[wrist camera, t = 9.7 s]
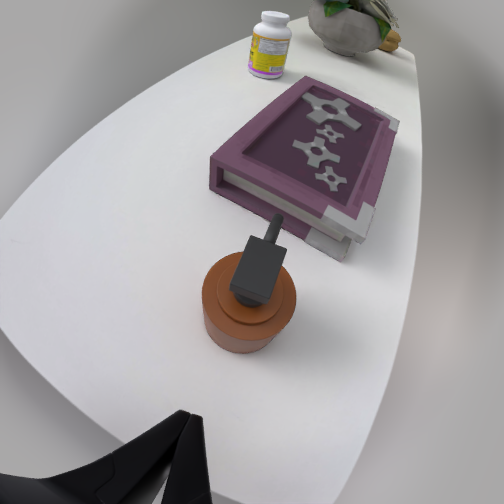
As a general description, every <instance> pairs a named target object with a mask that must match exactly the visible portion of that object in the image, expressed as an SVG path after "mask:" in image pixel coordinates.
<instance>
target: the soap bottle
mask: <svg viewBox="0 0 504 504" xmlns="http://www.w3.org/2000/svg"><path fill="white" fill-rule="evenodd" d="M242 254H243V252H238V253H234V254H231V255H228V256H226V257H224V258H222V259H221V260H219V261H218V262H217V263H216V264H215V265H214V266H213V267H212V268H211V269H210V270H209V272H208V273H207V275H206V277H205V280H204V283H203V287H202V303H203V312H204V321H205V326H206V329H207V331H208V333H209V335H210V337H211V338H212V340H213V341H214V342H215V343H216V344H218V345H219V346H220V347H222V348H223V349H225V350H227V351H230V352H233V353H242V354H244V353H251V352H255V351H257V350H259V349H261V348H263V347H264V346H266V345H267V344H268V343H269V342H270V341H271V340H272V339H273V338H274V337H275V336H276V335H277V334H278V333H279V332H280V331H281V330H282V329H283V328H284V327H285V326H286V325H287V323H288V322H289V321H290V319H291V317H292V315H293V313H294V310H295V306H296V290H295V286H294V283H293V281H292V278H291V277H290V275H289V273H288V272H287V271H286V269H285V268H284V267H283V266H281V269H280V272H279V275H278V278H277V280H276V283H275V286H274V289H273V292H272V294H271V297H270V299H269V301H268V303H267V304H263V303H261V302H258V301H255V300H253V299H250V298H247V297H245V296H242V295H240V294H237V293H235V292H232V291H230V290H229V285H230V281H231V279H232V277H233V274H234V272H235V270H236V267H237V265H238V263H239V261H240V258H241V256H242Z"/></svg>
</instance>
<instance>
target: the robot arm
mask: <svg viewBox="0 0 504 504" xmlns="http://www.w3.org/2000/svg"><path fill="white" fill-rule="evenodd" d="M167 477H168V479H167ZM166 479H167V483H166V486H165V490H164V494H163V499H162V502H161V504H213V503H212V497H211V492H210V483H209V475H208V467H207V458H206V448H205V438H204V427H203V418H202V417H201V416H198V415H195V414H190V413H189V412H186V411H184V410H178V411H177V412H175V413H174V414H172V415H171V416H169V417H168V418H166V419H165V420H163V421H162V422H160V423H159V424H157V425H155V426H154V427H152V428H151V429H149V430H148V431H146V432H144V433H143V434H141V435H140V436H138V437H136V438H135V439H133V440H132V441H130V442H128V443H127V444H125V445H123V446H121V447H120V448H118V449H116V450H115V451H113V452H112V453H109V454H108V455H106V456H104V457H102V458H100V459H98V460H96V461H94V462H92V463H90V464H88V465H85V466H82V467H80V468H77V469H75V470H72V471H68V472H65V473H62V474H59V475H56V476H53V477H49V478H42V479H34V478H26V477H18V476H12V475H7V474H1V473H0V504H152V502H153V501H154V499H155V497H156V495H157V494H158V492H159V490H160V489H161V487H162V485H163V484H164V481H165V480H166Z"/></svg>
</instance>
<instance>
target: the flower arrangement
mask: <svg viewBox="0 0 504 504" xmlns="http://www.w3.org/2000/svg"><path fill="white" fill-rule="evenodd" d="M308 19H309V26H310V28H311V29H312V30H313V31H314V33H315V34H316V35H317V36H319V37H320V38H321V39H322V40H323V41H324V46H325V47H326V48H327V49H329V50H331V51H333V52H335V53H338V54H341V55H345V56H353V55H355V53H357V52H369V51H373V50H376V49H377V48H378V47H379V46H380V45H381V44H382V43H383V42H384V40H385V38H386V36H387V34H388V33H389V31H390V30H391V26H393V24H391V22H393V23H395V25H396V27H398V24H397V23H396V22H395V21H397V20H398V19H397V18H396V17H395V16H394V14H393V11H392V9H391V8H390V7H389V5H388V3H387V0H313V2H312V4H311V6H310V11H309V15H308ZM390 25H391V26H390ZM398 28H399V27H398Z"/></svg>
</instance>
